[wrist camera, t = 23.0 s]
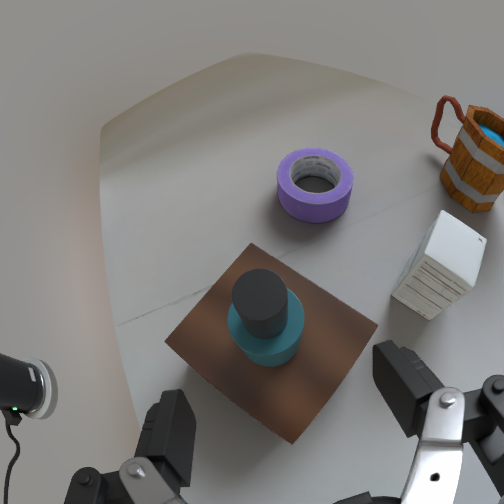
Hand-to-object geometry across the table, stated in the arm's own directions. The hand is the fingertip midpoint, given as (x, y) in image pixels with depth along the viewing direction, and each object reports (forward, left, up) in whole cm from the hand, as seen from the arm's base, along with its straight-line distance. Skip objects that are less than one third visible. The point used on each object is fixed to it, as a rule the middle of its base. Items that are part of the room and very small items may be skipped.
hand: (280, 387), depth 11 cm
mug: (+51, -7, -26) cm, 57 cm away
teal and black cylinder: (+4, +4, -15) cm, 16 cm away
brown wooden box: (+4, +4, -25) cm, 26 cm away
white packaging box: (+23, -8, -26) cm, 35 cm away
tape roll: (+28, +14, -26) cm, 40 cm away
